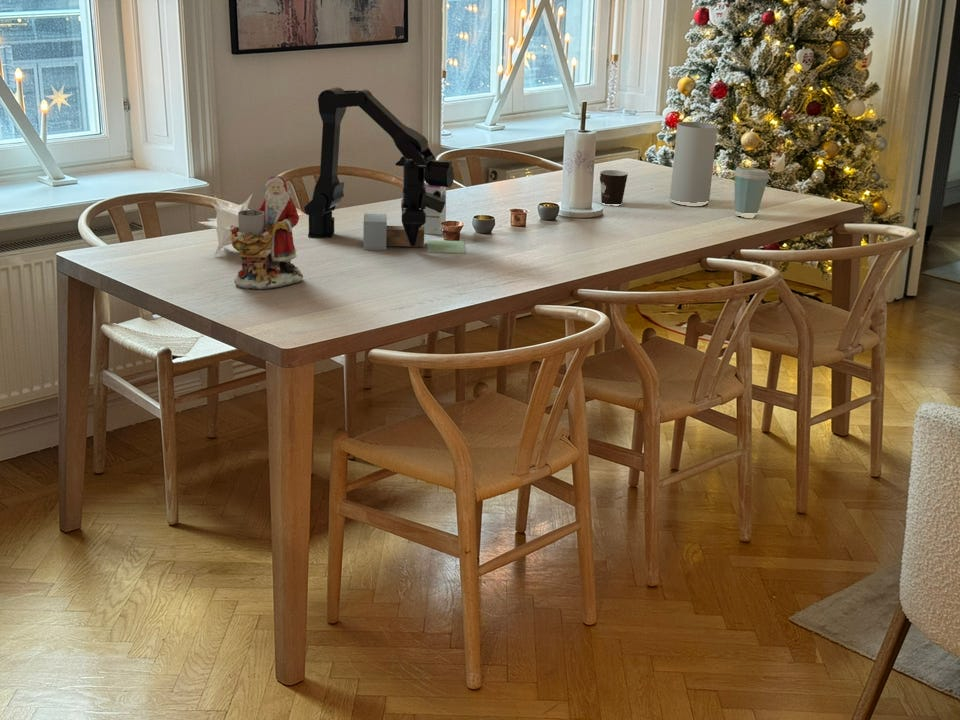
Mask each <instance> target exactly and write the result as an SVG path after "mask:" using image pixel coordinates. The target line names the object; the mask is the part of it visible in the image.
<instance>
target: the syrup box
mask: <svg viewBox="0 0 960 720" xmlns="http://www.w3.org/2000/svg"><path fill="white" fill-rule="evenodd" d="M425 188H426V192H428V193H431V194H432V193H433V192H434V191H435V190H437V191H440V192H441V197H443V198H444V199H445V200H446V201H447V189H446V188H447V187H440V186H431V185H428V183H426V182H425ZM446 204H447V202H446V203H445V206H444V208H443V211H442V213H439V212H437V211H435V210H433V209H430V208H428V207H426V208H425V209H424V212H425V213H426V223H425V224H424V225H422V226H424V235H435V236H441V235H442V234H443V233H444V232H442V226H441V223H442V222H444V221H447V220H446V212H447V211H446V210H447V209H446V207H447V206H446Z"/></svg>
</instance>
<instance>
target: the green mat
mask: <svg viewBox="0 0 960 720" xmlns="http://www.w3.org/2000/svg"><path fill="white" fill-rule="evenodd" d="M426 246H427V247H426V248H427V253H430V254H431V253H432V254H435V253H438V254H467V252H466V251H467V250H466V246H465V243H464V240H443V239H442V240H441V239H439V240H438V239H437V240H434V239H427V240H426Z"/></svg>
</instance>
